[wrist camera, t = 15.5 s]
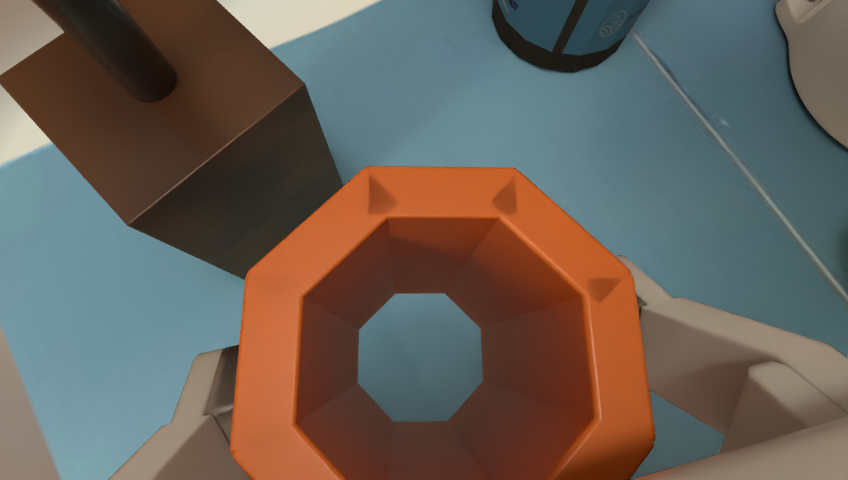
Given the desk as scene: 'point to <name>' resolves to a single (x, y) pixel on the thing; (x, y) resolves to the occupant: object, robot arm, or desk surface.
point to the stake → (180, 124)
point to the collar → (479, 299)
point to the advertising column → (565, 29)
